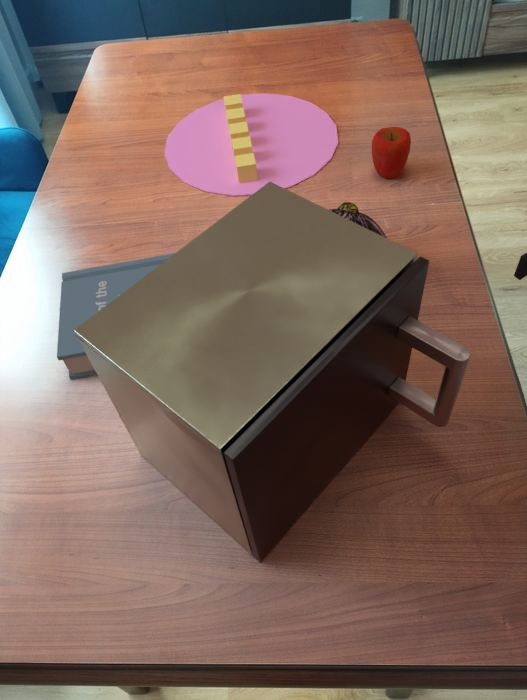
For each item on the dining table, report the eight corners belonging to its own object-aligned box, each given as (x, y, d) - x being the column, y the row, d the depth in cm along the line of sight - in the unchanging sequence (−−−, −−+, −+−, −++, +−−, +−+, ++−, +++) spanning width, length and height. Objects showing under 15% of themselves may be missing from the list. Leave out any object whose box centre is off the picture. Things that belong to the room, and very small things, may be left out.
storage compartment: (393, 395, 71) (418, 253, 53) (252, 555, 61) (220, 449, 42) (282, 325, 80) (269, 180, 61) (141, 456, 69) (73, 330, 50)
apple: (386, 156, 101) (390, 116, 95) (415, 171, 98) (421, 130, 92) (361, 173, 98) (364, 133, 92) (390, 188, 95) (395, 148, 89)
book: (70, 379, 77) (56, 357, 73) (74, 292, 87) (62, 268, 83) (239, 348, 78) (235, 324, 74) (224, 265, 88) (219, 240, 84)
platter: (167, 209, 97) (163, 192, 94) (161, 107, 116) (157, 91, 114) (357, 179, 97) (358, 162, 95) (319, 83, 117) (319, 66, 114)
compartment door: (453, 432, 67) (501, 295, 49) (312, 610, 57) (307, 521, 39) (395, 395, 71) (420, 255, 53) (253, 557, 61) (222, 452, 42)
